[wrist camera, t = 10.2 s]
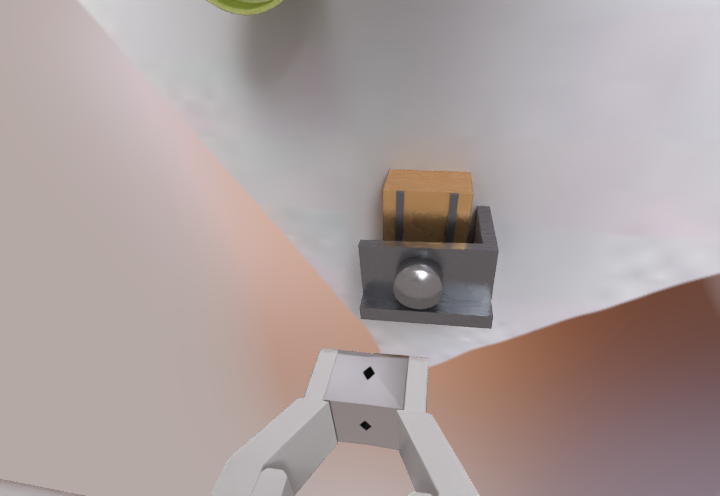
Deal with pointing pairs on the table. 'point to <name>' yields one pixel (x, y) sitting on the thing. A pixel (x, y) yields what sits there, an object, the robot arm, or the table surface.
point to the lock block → (427, 206)
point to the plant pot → (246, 6)
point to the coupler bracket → (431, 279)
